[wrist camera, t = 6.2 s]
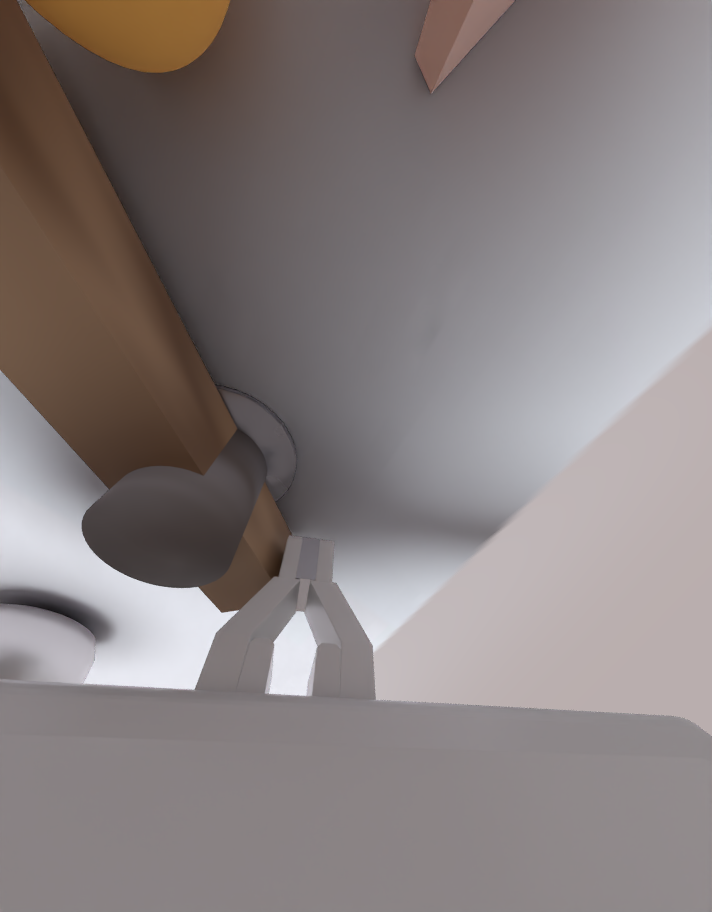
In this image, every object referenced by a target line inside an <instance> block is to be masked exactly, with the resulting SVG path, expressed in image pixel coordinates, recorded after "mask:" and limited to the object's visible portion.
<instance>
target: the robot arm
mask: <svg viewBox="0 0 712 912" xmlns="http://www.w3.org/2000/svg"><path fill="white" fill-rule="evenodd" d="M333 557H334V541H331V540H323V539H316V538H307V537H298V536H291V535H289V537H288V539H287V543H286V547H285V551H284V555H283V560H282V564H281V568H280V572H279V576H278V577H273V578H272V579H271V580H270V581H269V582H268V583H267V584H266V585H265V586H264V587H263V588H262V589H261V590H260V591H259V592H258V593H257V594H256V595H255V596H254V597H253V598H251V599H250V600H249V601H248V602H247V603H246V604H245V605H244V606H243V607H242V608H241V609H240V610H239V611H238V612H237V613H236V614H235V615H234V616H233V617H232V618H231V619H230V620H229V621H228V622H227V623H226V624H225V625H224V626H223V627H222V628H221V629H220V630H219V631H218V632H217V633H216V635H215V637H214V640H213V643H212V645H211V648H210V651H209V653H208V656H207V658H206V661H205V664H204V666H203V669H202V672H201V674H200V677H199V680H198V682H197V685H196V688H195V690H190V689H172V688H153V687H135V686H117V685H98V684H80V683H62V682H43V681H25V680H7V679H0V912H712V736H711V735H709V734H708V733H707V732H705V731H704V730H703V729H701V728H700V727H699V726H698V725H696V724H695V723H693V722H691V721H689V720H687V719H684V718H681V717H676V716H664V715H645V714H628V713H609V712H591V711H571V710H554V709H536V708H518V707H500V706H481V705H464V704H444V703H426V702H409V701H408V702H407V701H391V700H376V697H375V680H374V662H373V646H372V644H371V642H370V640H369V639H368V637H367V635H366V634H365V632H364V630H363V628H362V627H361V625H360V623H359V621H358V620H357V618H356V616H355V615H354V613H353V611H352V609H351V608H350V606H349V604H348V602H347V601H346V599H345V597H344V595H343V594H342V592H341V590H340V589H339V587H338V585H337V583H334V582H332V574H333ZM296 611H303V612H305V615H306V618H307V620H308V623H309V626H310V628H311V631H312V633H313V636H314V638H315V641H316V644H317V646H318V647H317V650H316V654H315V657H314V661H313V665H312V669H311V673H310V677H309V680H308V687H307V696H300V695H281V694H269V690H270V684H271V677H272V665H273V653H274V643H273V642H274V641H275V639H276V638H277V637H278V635H279V634H280V633H281V631H282V630H283V629H284V627H285V626H286V625H287V623H288V622H289V621H290V619H291V618H292V617H293V615H294V614H295V613H296Z"/></svg>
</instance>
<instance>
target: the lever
mask: <svg viewBox="0 0 712 912" xmlns="http://www.w3.org/2000/svg"><path fill="white" fill-rule="evenodd" d="M0 370H1V371H2V372H3V373H4V374H5V375H6V377H7V378H8V379H9V380H10V381H11V382H12V383H13V384H14V385H15V386H16V388H17V389H18V390H19V391H20V392H21V393H22V394H23V395H24V396H25V397H26V398H27V400H28V401H29V402H30V403H31V404H32V405H33V406H34V407H35V408H36V409H37V411H38V412H39V413H40V414H41V415H42V416H43V417H44V418H45V419H46V420H47V422H48V423H49V424H50V425H51V426H52V427H53V428H54V429H55V430H56V431H57V432H58V434H59V435H60V436H61V437H62V438H63V439H64V440H65V441H66V442H67V443H68V445H69V446H70V447H71V448H72V449H73V450H74V451H75V452H76V453H77V454H78V456H79V457H80V458H81V459H82V460H83V461H84V462H85V463H86V464H87V465H88V467H89V468H90V469H91V470H92V471H93V472H94V473H95V474H96V475H97V476H98V477H99V479H100V480H101V481H102V482H103V483H104V484H105V485H106V486H107V487H108V488H109V490H108V491H107V492H106V493H105V494H104V495H103V496H102V497H101V498H100V499H98V500H97V501H96V502H95V503H94V504H93V505H92V506H91V507H90V508H89V509H88V510H87V511H86V513H85V514H84V516H83V520H82V532H83V536H84V538H85V541H86V542H87V544H88V545H89V547H90V548H91V549H92V551H93V552H94V553H95V554H96V555H97V556H98V557H99V558H100V559H101V560H103V561H104V562H105V563H106V564H108V565H109V566H111V567H112V568H114V569H115V570H117V571H119V572H121V573H123V574H125V575H127V576H129V577H132V578H134V579H137V580H139V581H143V582H146V583H149V584H153V585H158V586H163V587H172V588H191V587H199V588H200V589H201V590H202V592H203V593H204V594H205V595H206V596H207V597H208V598H209V599H210V600H211V601H212V603H213V604H214V605H215V606H216V607H217V608H218V609H219V610H220V611H221V612H229V611H236V610H240V609H241V608H242V607H243V606H244V605H245V604H246V603H247V602H248V601H249V600H250V599H251V598H253V597H254V596H255V595H256V594H257V593H258V592H259V591H260V590H261V589H262V588H263V587H264V586H265V585H266V584H267V583H268V582H269V581H270V580H271V579H272V578H273V577H278V576H279V572H280V568H281V564H282V560H283V555H284V551H285V547H286V543H287V539H288V537H289V535H291V536H292V534H291V532H290V530H289V528H288V526H287V524H286V522H285V520H284V518H283V516H282V515H281V513H280V511H279V509H278V507H277V505H276V503H275V501H274V499H273V497H272V495H271V493H270V491H269V489H268V487H267V485H266V483H265V479H266V476H267V464H266V460H265V458H264V455H263V453H262V451H261V450H260V448H259V447H258V445H257V444H256V443H255V442H254V441H253V440H252V439H251V438H250V437H249V436H247V435H246V434H245V433H243V432H242V431H240V430H238V429H237V427H236V425H235V423H234V421H233V419H232V418H231V416H230V414H229V412H228V410H227V408H226V406H225V404H224V402H223V400H222V398H221V396H220V394H219V392H218V390H217V388H216V386H215V385H214V383H213V381H212V379H211V377H210V375H209V373H208V371H207V369H206V367H205V365H204V363H203V361H202V359H201V357H200V355H199V353H198V352H197V350H196V348H195V346H194V344H193V342H192V340H191V338H190V336H189V334H188V332H187V330H186V328H185V326H184V324H183V322H182V320H181V319H180V317H179V315H178V313H177V311H176V309H175V307H174V305H173V303H172V301H171V299H170V297H169V295H168V293H167V291H166V289H165V287H164V286H163V284H162V282H161V280H160V278H159V276H158V274H157V272H156V270H155V268H154V266H153V264H152V262H151V260H150V258H149V256H148V254H147V253H146V251H145V249H144V247H143V245H142V243H141V241H140V239H139V237H138V235H137V233H136V231H135V229H134V227H133V225H132V223H131V221H130V220H129V218H128V216H127V214H126V212H125V210H124V208H123V206H122V204H121V202H120V200H119V198H118V196H117V194H116V192H115V190H114V188H113V187H112V185H111V183H110V181H109V179H108V177H107V175H106V173H105V171H104V169H103V167H102V165H101V163H100V161H99V159H98V157H97V155H96V154H95V152H94V150H93V148H92V146H91V144H90V142H89V140H88V138H87V136H86V134H85V132H84V130H83V128H82V126H81V124H80V122H79V121H78V119H77V117H76V115H75V113H74V111H73V109H72V107H71V105H70V103H69V101H68V99H67V97H66V95H65V93H64V91H63V89H62V88H61V86H60V84H59V82H58V80H57V78H56V76H55V74H54V72H53V70H52V68H51V66H50V64H49V62H48V60H47V58H46V56H45V55H44V53H43V51H42V49H41V47H40V45H39V43H38V41H37V39H36V37H35V35H34V33H33V31H32V29H31V27H30V25H29V23H28V22H27V20H26V18H25V16H24V14H23V12H22V10H21V8H20V6H19V4H18V2H17V0H0Z"/></svg>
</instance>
